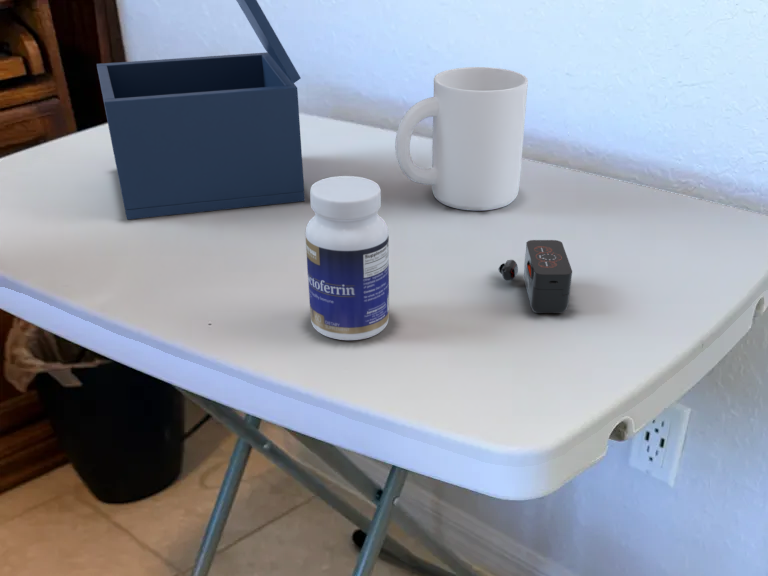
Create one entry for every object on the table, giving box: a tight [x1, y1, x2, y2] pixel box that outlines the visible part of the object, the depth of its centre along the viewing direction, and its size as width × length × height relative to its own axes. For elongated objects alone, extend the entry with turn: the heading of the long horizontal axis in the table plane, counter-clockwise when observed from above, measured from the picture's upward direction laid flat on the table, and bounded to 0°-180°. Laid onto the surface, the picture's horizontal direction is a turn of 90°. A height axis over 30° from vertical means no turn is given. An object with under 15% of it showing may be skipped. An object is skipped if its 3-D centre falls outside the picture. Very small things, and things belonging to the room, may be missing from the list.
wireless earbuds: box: [497, 239, 573, 314], centre depth 71 cm, size 5×7×3 cm, turn 1°
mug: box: [394, 66, 529, 212], centre depth 84 cm, size 12×8×10 cm
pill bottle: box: [304, 175, 390, 341], centre depth 64 cm, size 6×6×10 cm
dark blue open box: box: [96, 51, 306, 221], centre depth 87 cm, size 16×13×10 cm
